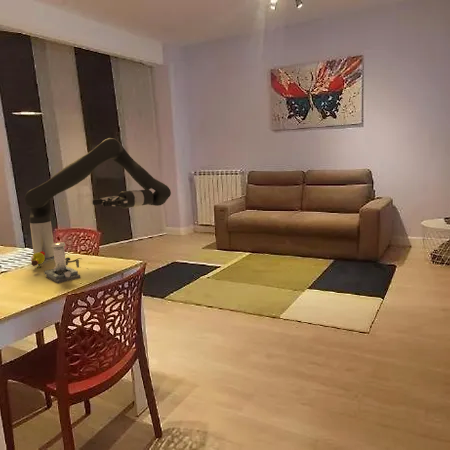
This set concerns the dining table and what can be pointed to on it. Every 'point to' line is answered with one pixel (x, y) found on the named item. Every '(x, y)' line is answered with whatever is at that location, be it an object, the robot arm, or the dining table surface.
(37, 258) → the toy figure
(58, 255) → the steel pin
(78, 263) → the hacksaw
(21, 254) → the dining table surface
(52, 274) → the chain end upper
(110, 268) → the dining table surface
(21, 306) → the dining table surface
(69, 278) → the chain end lower
